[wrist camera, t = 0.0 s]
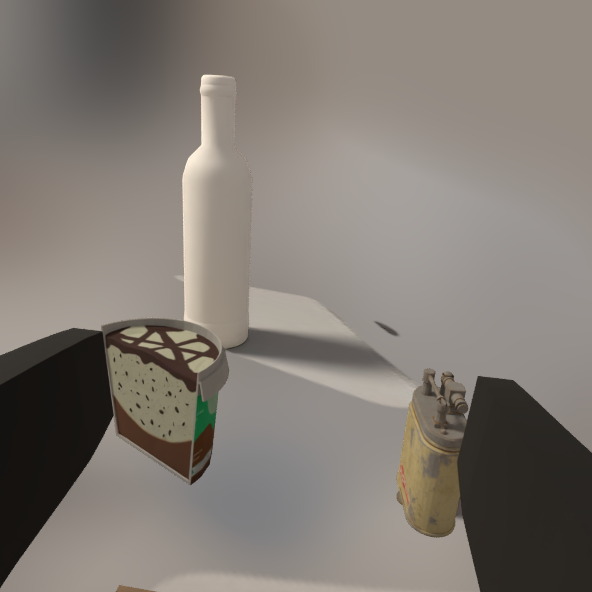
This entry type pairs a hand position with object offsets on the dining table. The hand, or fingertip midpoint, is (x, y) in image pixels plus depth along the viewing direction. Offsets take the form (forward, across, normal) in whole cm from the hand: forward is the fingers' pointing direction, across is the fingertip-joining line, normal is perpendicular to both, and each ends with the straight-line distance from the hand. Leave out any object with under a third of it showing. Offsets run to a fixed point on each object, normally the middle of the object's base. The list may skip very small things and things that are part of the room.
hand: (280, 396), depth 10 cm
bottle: (+45, +15, +26) cm, 54 cm away
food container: (+24, +12, +24) cm, 36 cm away
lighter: (+21, -8, +24) cm, 33 cm away
